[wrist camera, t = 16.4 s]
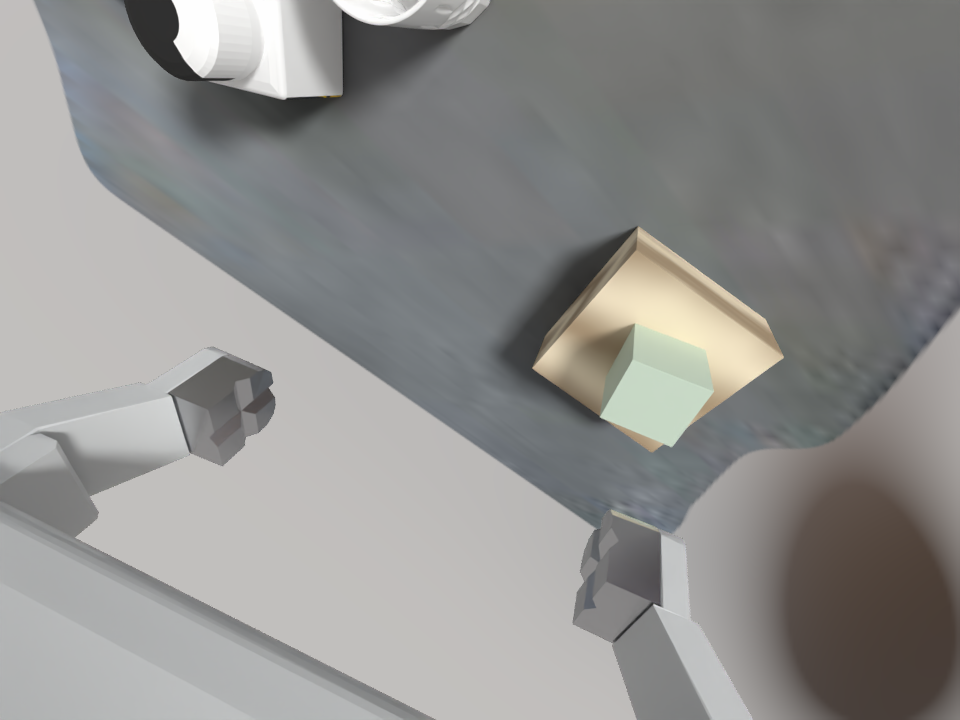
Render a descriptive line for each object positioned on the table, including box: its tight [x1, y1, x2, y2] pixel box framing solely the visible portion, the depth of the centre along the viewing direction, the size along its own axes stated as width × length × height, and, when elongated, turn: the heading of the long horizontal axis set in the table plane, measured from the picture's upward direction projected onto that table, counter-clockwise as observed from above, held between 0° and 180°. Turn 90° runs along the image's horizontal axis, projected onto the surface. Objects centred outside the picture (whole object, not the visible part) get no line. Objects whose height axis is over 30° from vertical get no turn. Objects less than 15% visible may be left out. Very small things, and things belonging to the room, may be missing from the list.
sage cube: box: [600, 323, 714, 447], centre depth 30 cm, size 5×5×5 cm
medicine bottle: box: [124, 0, 343, 100], centre depth 28 cm, size 7×7×12 cm
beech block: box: [532, 226, 784, 452], centre depth 34 cm, size 12×12×6 cm
